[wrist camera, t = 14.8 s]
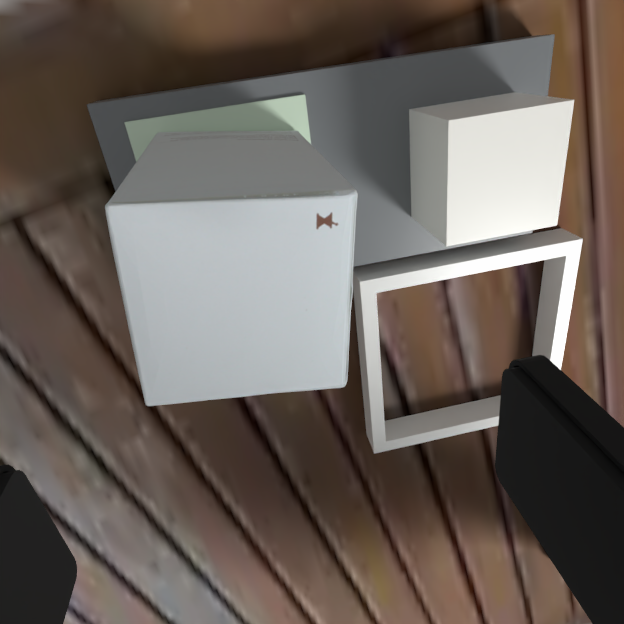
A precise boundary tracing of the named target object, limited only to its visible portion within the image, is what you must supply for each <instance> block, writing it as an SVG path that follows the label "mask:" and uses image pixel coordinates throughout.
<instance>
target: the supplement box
mask: <svg viewBox="0 0 624 624" xmlns="http://www.w3.org/2000/svg"><path fill="white" fill-rule="evenodd" d="M357 198H358V193H357V191H356V190H355V189H354V188H353V187H352V186H351V184H350V183H349V182H348V181H347V180H346V179H344V177H343V176H342V175H341V174H340V173H339V172H338V171H337V170H336V169H335V168H334V167H333V166H332V165H331V164H330V163H329V162H328V161H327V160H326V159H325V158H324V157H323V156H322V155H321V154H320V153H319V152H318V151H317V150H316V149H315V148H314V147H313V146H312V145H311V144H310V143H309V142H308V141H307V140H306V139H305V138H304V137H303V136H302V135H301V134H300V133H299V131H297V130H293V131H191V132H159V133H157V134H156V135H155V136H154V138H153V139H152V140H151V142H150V143H149V145H148V146H147V148H146V149H145V151H144V152H143V153H142V155H141V156H140V158H139V159H138V161H137V162H136V163H135V165H134V166H133V168H132V169H131V170H130V172H129V173H128V175H127V176H126V178H125V179H124V181H123V182H122V183H121V185H120V186H119V188H118V189H117V190H116V192H115V193H114V195H113V196H112V198H111V199H110V200H109V201H108V203H107V204H106V205H105V211H106V217H107V223H108V229H109V234H110V240H111V244H112V250H113V255H114V260H115V264H116V269H117V274H118V278H119V283H120V288H121V293H122V298H123V303H124V308H125V313H126V317H127V322H128V327H129V332H130V336H131V341H132V346H133V351H134V355H135V360H136V365H137V369H138V374H139V378H140V383H141V387H142V391H143V396H144V400H145V404H146V405H147V406H156V405H166V404H176V403H186V402H196V401H205V400H215V399H225V398H235V397H244V396H253V395H262V394H270V393H283V392H296V391H308V390H320V389H331V388H342V387H345V385H346V383H347V379H348V361H349V339H350V319H351V306H352V295H353V262H354V243H355V226H356V209H357Z"/></svg>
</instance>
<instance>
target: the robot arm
mask: <svg viewBox="0 0 624 624" xmlns="http://www.w3.org/2000/svg"><path fill="white" fill-rule="evenodd" d="M495 468H496V473H497V476H498V478H499V481H500V483H501V484H502V486H503V487H504V489H505V490H506V492H507V493H508V495H509V497H510V498H511V500H512V501H513V503H514V504H515V506H516V507H517V509H518V510H519V512H520V513H521V515H522V516H523V518H524V519H525V521H526V522H527V524H528V526H529V527H530V529H531V530H532V532H533V533H534V535H535V536H536V538H537V539H538V541H539V542H540V544H541V545H542V547H543V548H544V550H545V552H546V553H547V555H548V556H549V558H550V559H551V561H552V562H553V564H554V565H555V567H556V568H557V570H558V571H559V573H560V574H561V576H562V578H563V579H564V581H565V582H566V584H567V585H568V587H569V588H570V590H571V591H572V593H573V594H574V596H575V597H576V599H577V600H578V602H579V603H580V605H581V607H582V608H583V610H584V611H585V613H586V614H587V616H588V617H589V619H590V620H591V622H592V623H593V624H624V428H623V427H622V426H621V425H620V424H619V423H618V422H617V421H616V420H615V419H614V418H612V417H611V416H610V415H609V414H608V413H607V412H606V411H605V410H604V409H603V408H602V407H600V406H599V405H598V404H597V403H596V402H595V401H594V400H593V399H592V398H591V397H589V396H588V395H587V394H586V393H585V392H584V391H583V390H582V389H581V388H580V387H579V386H577V385H576V384H575V383H574V382H573V381H572V380H571V379H570V378H569V377H568V376H567V375H565V374H564V373H563V372H562V371H561V370H560V369H559V368H558V367H557V366H556V365H555V364H553V363H552V362H551V361H550V360H549V359H548V358H547V357H545V356H544V355H536V356H532V357H527V358H522V359H517V360H514V361H512V362H511V363H510V366H509V369H506V370H504V372H503V375H502V387H501V399H500V411H499V424H498V436H497V449H496V461H495ZM76 576H77V565H76V561H75V558H74V556H73V555H72V553H71V551H70V550H69V548H68V546H67V545H66V543H65V541H64V539H63V538H62V536H61V534H60V533H59V531H58V529H57V528H56V526H55V524H54V523H53V521H52V519H51V517H50V516H49V514H48V512H47V511H46V509H45V507H44V506H43V504H42V502H41V501H40V499H39V497H38V495H37V494H36V492H35V490H34V489H33V487H32V485H31V484H30V482H29V480H28V479H27V477H26V475H25V474H24V473H23V472H22V471H20V470H17V471H15V469H14V468H13V467H12V466H10V465H2V466H0V624H63V622H64V619H65V615H66V612H67V608H68V605H69V602H70V598H71V595H72V591H73V588H74V584H75V581H76Z"/></svg>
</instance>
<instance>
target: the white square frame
mask: <svg viewBox="0 0 624 624" xmlns="http://www.w3.org/2000/svg"><path fill="white" fill-rule="evenodd" d="M582 241H583V239H582V238H580V237H578V236H576V235H574V234H572V233H570V232H568V231H566V230H564V229H562V228H559V229H554V230H549V231H544V232H538V233H533V234H528V235H523V236H517V237H512V238H507V239H501V240H496V241H491V242H486V243H480V244H475V245H470V246H465V247H459V248H454V249H449V250H444V251H438V252H433V253H428V254H423V255H417V256H412V257H407V258H401V259H396V260H391V261H386V262H380V263H375V264H370V265H365V266H359V267H354V268H353V293H354V304H355V315H356V326H357V337H358V348H359V358H360V369H361V380H362V391H363V402H364V413H365V424H366V434H367V437H368V439H369V442H370V444H371V447H372V450H373V452H374V454H375V453H380V452H384V451H389V450H393V449H397V448H402V447H406V446H410V445H415V444H419V443H424V442H428V441H432V440H437V439H441V438H446V437H450V436H454V435H459V434H463V433H468V432H472V431H476V430H481V429H485V428H490V427H494V426H498V424H499V411H500V399H501V395H499V396H495V397H490V398H486V399H481V400H477V401H472V402H468V403H463V404H459V405H454V406H450V407H445V408H441V409H436V410H432V411H427V412H422V413H418V414H413V415H409V416H404V417H400V418H395V419H391V420H386V421H385V420H384V405H383V389H382V374H381V358H380V343H379V328H378V312H377V297H376V293H379V292H384V291H389V290H394V289H399V288H404V287H409V286H414V285H419V284H425V283H430V282H435V281H440V280H445V279H450V278H455V277H460V276H465V275H470V274H476V273H481V272H486V271H491V270H496V269H501V268H506V267H511V266H516V265H522V264H527V263H532V262H537V261H542V260H544V266H543V274H542V282H541V290H540V298H539V305H538V313H537V321H536V329H535V336H534V344H533V352H532V356H536V355H544V356H545V357H547V358H548V359H549V360H550V361H551V362H552V363H553V364H555V365H556V366H557V367H558V368H559V369H560V370H561V366H562V360H563V354H564V348H565V342H566V336H567V330H568V324H569V318H570V312H571V306H572V300H573V294H574V288H575V282H576V276H577V271H578V265H579V259H580V253H581V247H582Z"/></svg>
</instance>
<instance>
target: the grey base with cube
mask: <svg viewBox="0 0 624 624" xmlns="http://www.w3.org/2000/svg"><path fill="white" fill-rule="evenodd" d="M554 35H555V34H554ZM554 35H537V36H528V37H521V38H514V39H508V40H501V41H494V42H487V43H481V44H474V45H467V46H461V47H454V48H447V49H441V50H434V51H427V52H421V53H414V54H407V55H401V56H394V57H387V58H381V59H374V60H367V61H361V62H354V63H347V64H340V65H334V66H327V67H320V68H314V69H307V70H300V71H294V72H287V73H280V74H274V75H267V76H260V77H254V78H247V79H240V80H234V81H227V82H220V83H214V84H207V85H200V86H193V87H187V88H180V89H173V90H167V91H160V92H153V93H147V94H140V95H133V96H127V97H120V98H113V99H107V100H100V101H95V102H92V103H90V104H87V107H88V110H89V113H90V116H91V119H92V122H93V125H94V128H95V131H96V134H97V137H98V140H99V143H100V146H101V149H102V152H103V155H104V158H105V161H106V164H107V167H108V170H109V173H110V176H111V179H112V182H113V185H114V188H115V191H116V190H117V189H118V188H119V186H120V185H121V183H122V182H123V181H124V179H125V178H126V176H127V175H128V173H129V172H130V170H131V169H132V168H133V166H134V165H135V163H136V162H137V161H138V159H139V158H140V156H141V155H142V153H143V152H144V151H145V149H146V148H147V146H148V145H149V143H150V142H151V140H152V139H153V138H154V136H155V135H156V134H157V133H159V132H191V131H293V130H297V131H299V133H300V134H301V135H302V136H303V137H304V138H305V139H306V140H307V141H308V142H309V143H310V144H311V145H312V146H313V147H314V148H315V149H316V150H317V151H318V152H319V153H320V154H321V155H322V156H323V157H324V158H325V159H326V160H327V161H328V162H329V163H330V164H331V165H332V166H333V167H334V168H335V169H336V170H337V171H338V172H339V173H340V174H341V175H342V176H343V177H344V179H346V180H347V181H348V182H349V183H350V184H351V186H352V187H353V188H354V189H355V190H356V191H357V193H358V198H357V209H356V226H355V243H354V262H353V267H355V266H360V265H366V264H371V263H376V262H381V261H387V260H392V259H397V258H403V257H408V256H413V255H418V254H424V253H429V252H434V251H439V250H445V249H450V248H455V247H460V246H466V245H471V244H476V243H482V242H487V241H492V240H497V239H503V238H508V237H513V236H518V235H524V234H529V233H532V232H533V230H536V229H542V228H547V227H552V226H557V222H558V215H559V207H560V200H561V193H562V186H563V178H564V171H565V164H566V157H567V149H568V142H569V135H570V128H571V120H572V113H573V106H574V100H571V99H563V98H556V97H548V89H549V80H550V71H551V62H552V53H553V44H554Z"/></svg>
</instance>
